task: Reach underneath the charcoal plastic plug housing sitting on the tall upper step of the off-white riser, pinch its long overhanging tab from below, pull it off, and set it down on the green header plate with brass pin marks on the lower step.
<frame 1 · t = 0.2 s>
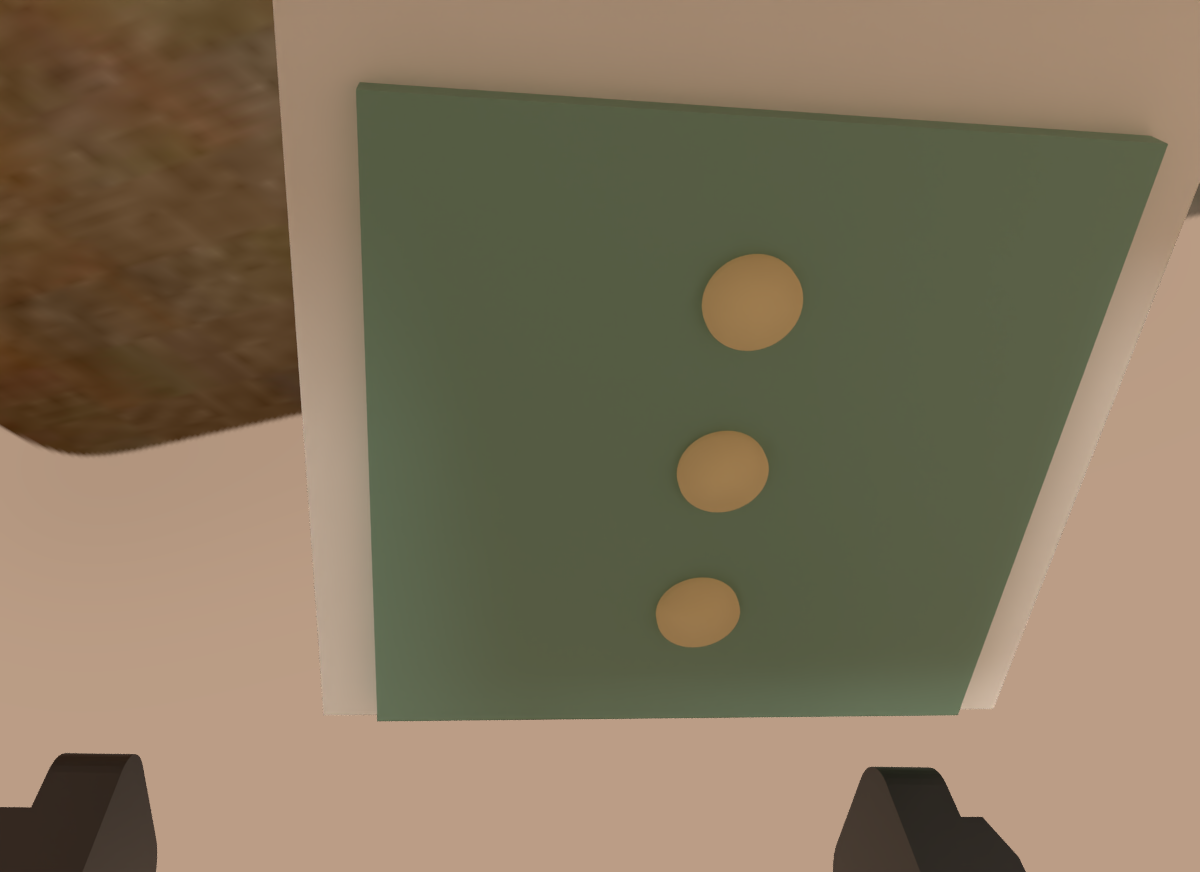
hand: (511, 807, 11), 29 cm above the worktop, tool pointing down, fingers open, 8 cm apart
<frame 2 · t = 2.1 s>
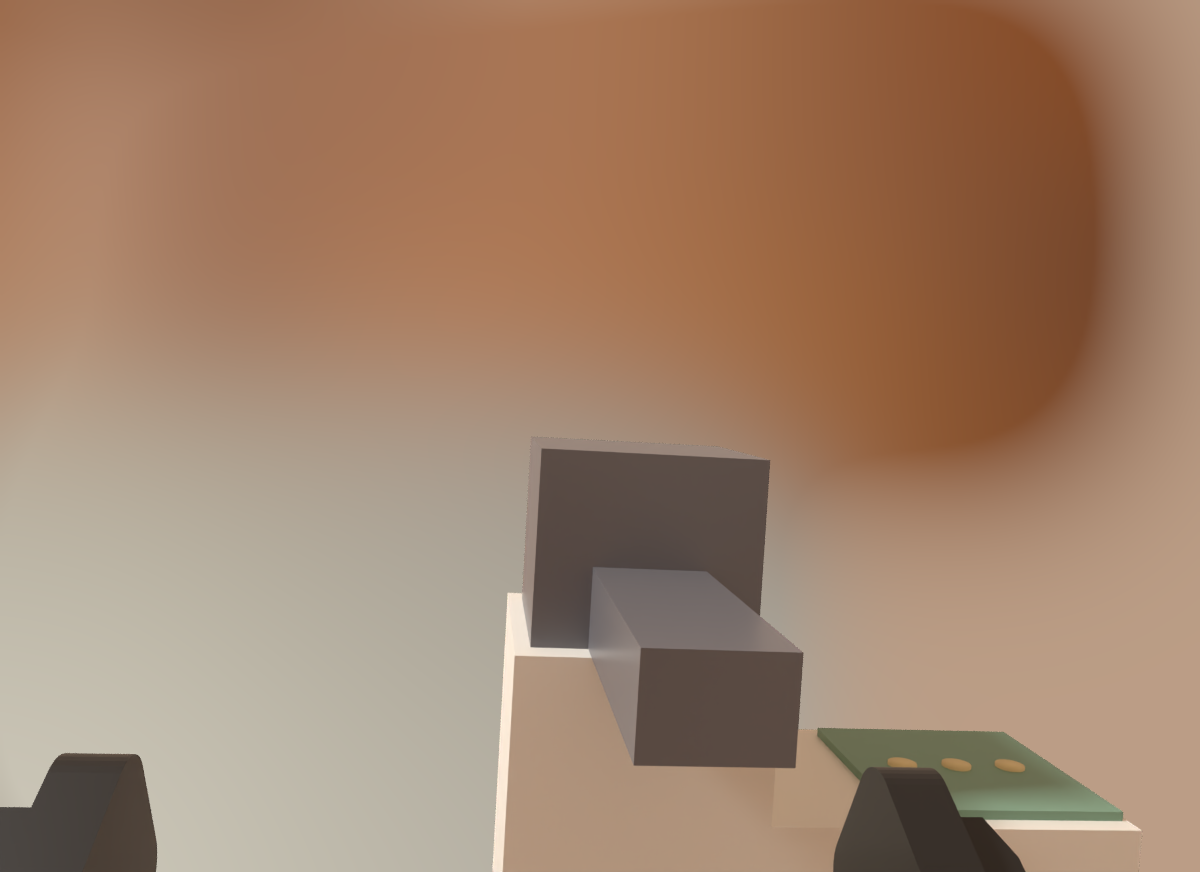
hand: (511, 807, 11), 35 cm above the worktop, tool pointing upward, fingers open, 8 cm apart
plug housing: (629, 623, 34), point 32 cm above the worktop, touching riser
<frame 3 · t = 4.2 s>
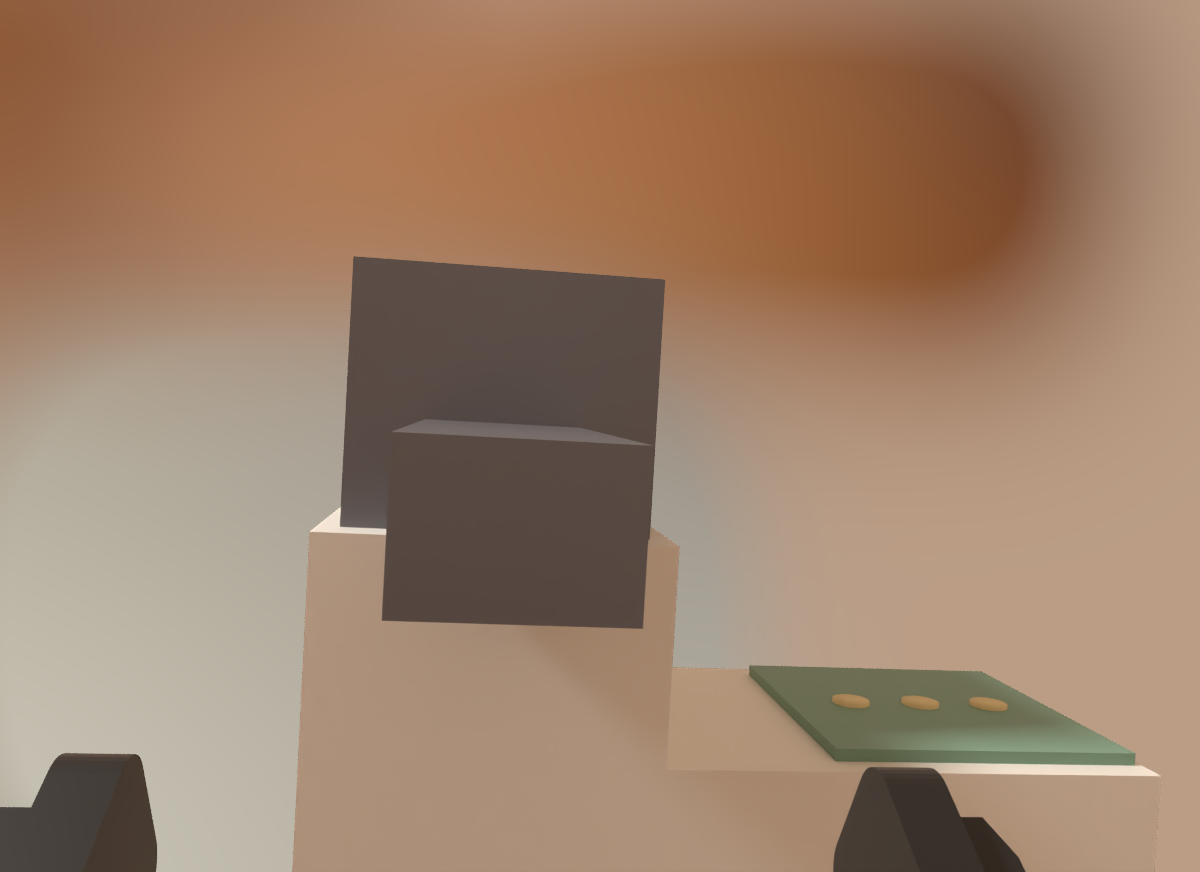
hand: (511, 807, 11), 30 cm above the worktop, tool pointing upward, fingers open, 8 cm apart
plug housing: (494, 516, 27), point 32 cm above the worktop, touching riser
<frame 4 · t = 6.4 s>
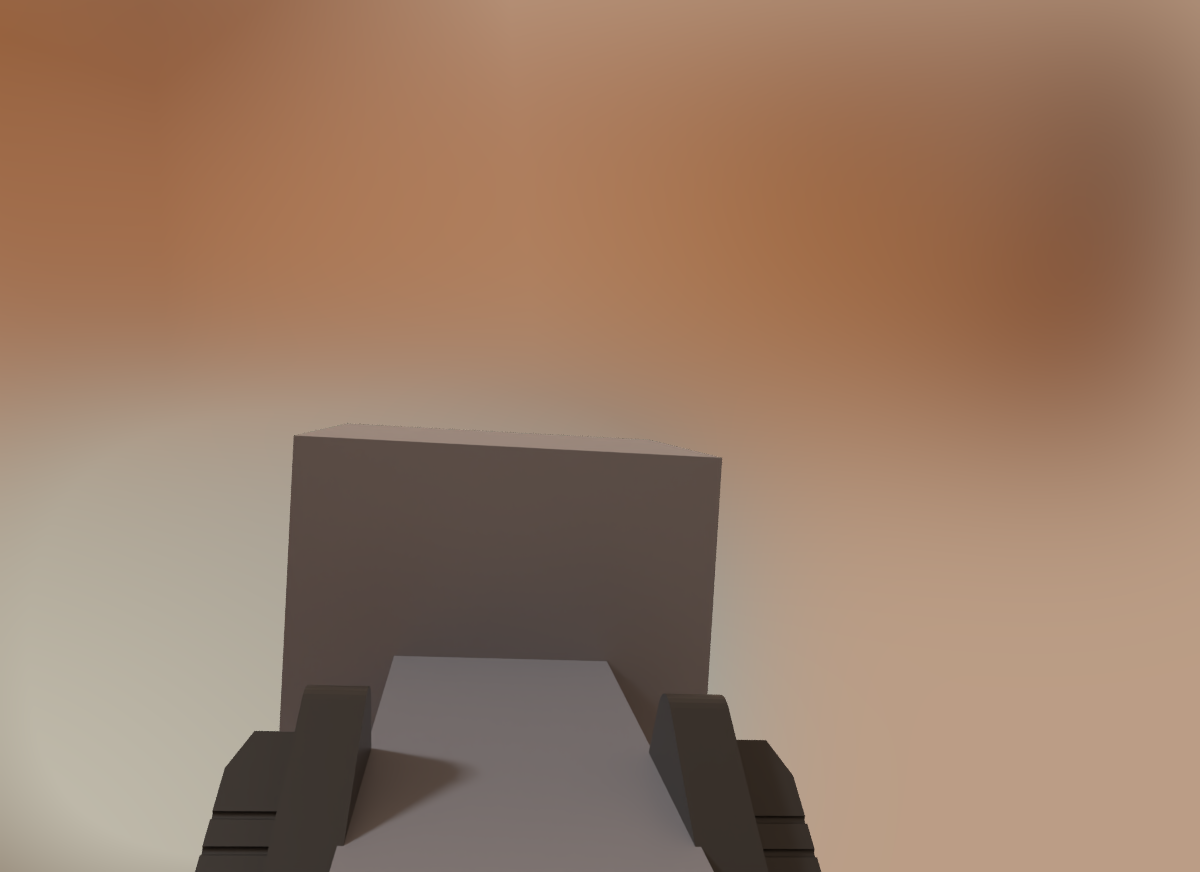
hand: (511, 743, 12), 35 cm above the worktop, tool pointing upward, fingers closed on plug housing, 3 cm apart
plug housing: (489, 737, 20), point 32 cm above the worktop, touching gripper, riser
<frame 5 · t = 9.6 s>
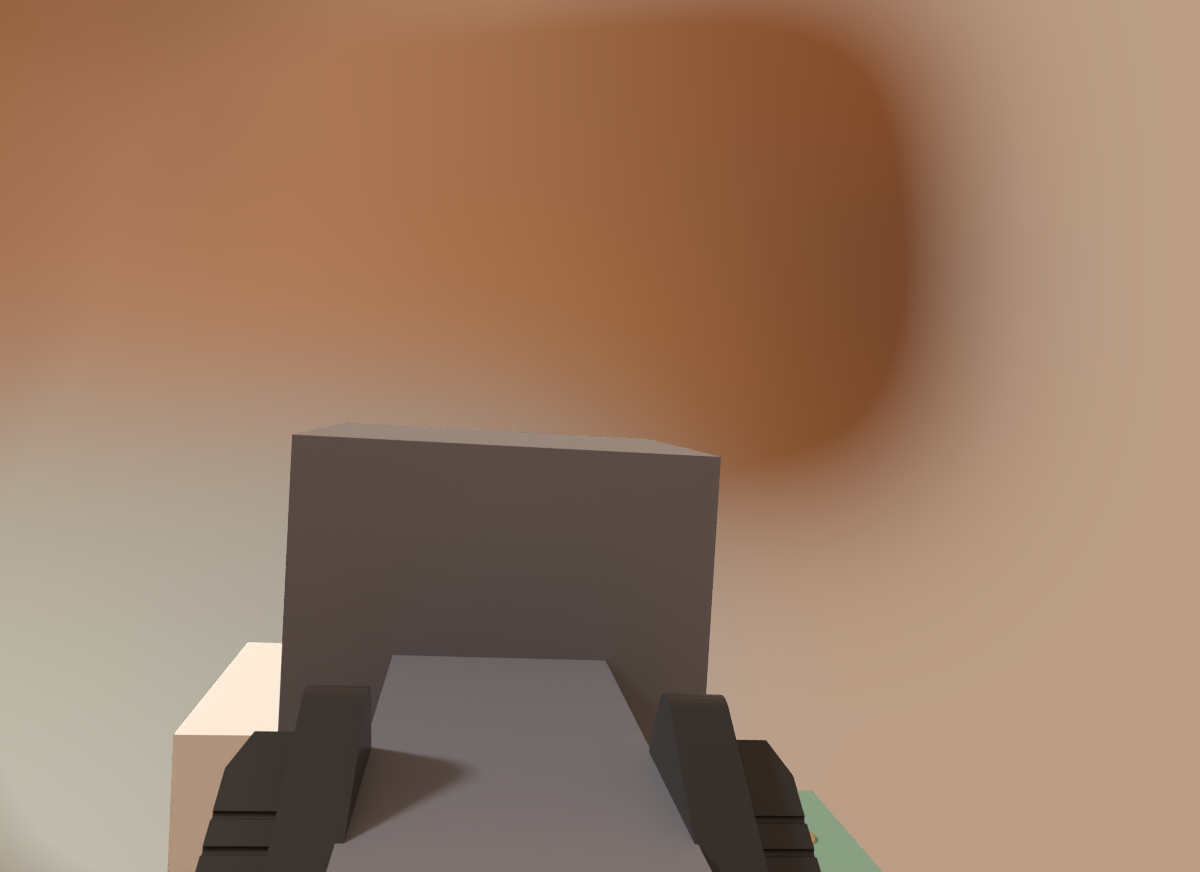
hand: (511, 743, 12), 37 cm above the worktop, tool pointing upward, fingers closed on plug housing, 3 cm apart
plug housing: (488, 736, 20), point 34 cm above the worktop, touching gripper
when the fingers open (31 cm above the worktop, at t = 13.2 s): plug housing stays where it is, resting on riser.
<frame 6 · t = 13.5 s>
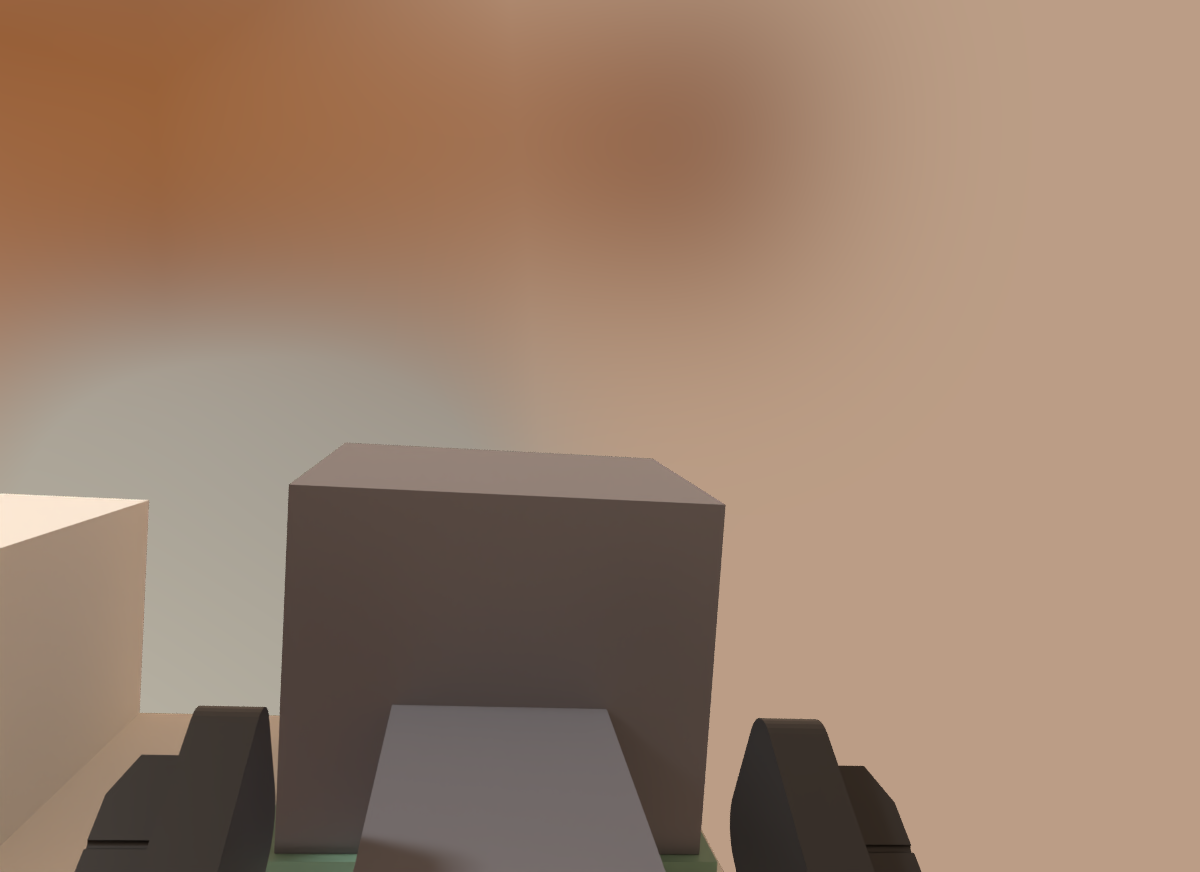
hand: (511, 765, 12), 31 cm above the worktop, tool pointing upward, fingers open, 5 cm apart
plug housing: (489, 767, 20), point 27 cm above the worktop, touching riser
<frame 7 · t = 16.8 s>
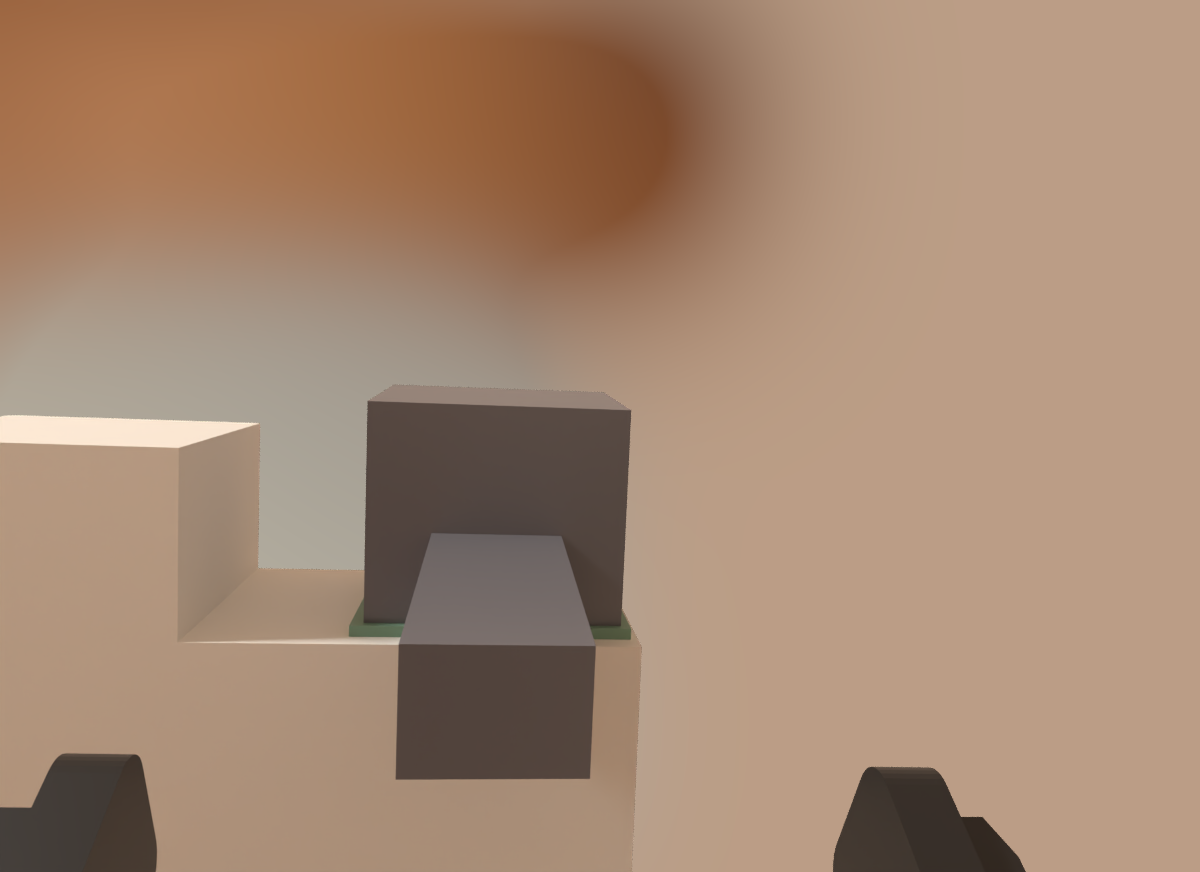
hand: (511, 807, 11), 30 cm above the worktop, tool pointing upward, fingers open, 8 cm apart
plug housing: (494, 590, 31), point 27 cm above the worktop, touching riser
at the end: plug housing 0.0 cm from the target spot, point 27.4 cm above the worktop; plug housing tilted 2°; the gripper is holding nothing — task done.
